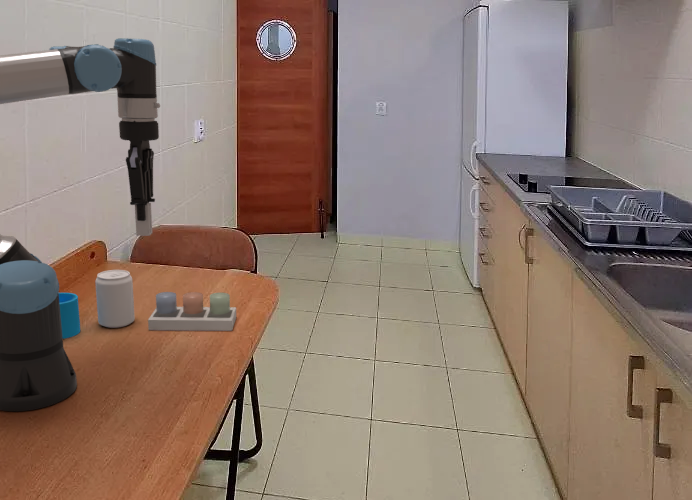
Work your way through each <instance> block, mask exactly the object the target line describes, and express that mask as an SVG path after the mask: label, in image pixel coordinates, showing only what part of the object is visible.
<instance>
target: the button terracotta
mask: <svg viewBox="0 0 692 500" xmlns="http://www.w3.org/2000/svg"><path fill="white" fill-rule="evenodd" d="M182 307H183V312H184V313H187V314H198V313H201V312H203V307H204V294H203V293H202V292H197V291H191V292H186V293H184V294H182Z"/></svg>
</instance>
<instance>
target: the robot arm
mask: <svg viewBox="0 0 692 500" xmlns="http://www.w3.org/2000/svg"><path fill="white" fill-rule="evenodd" d="M114 89H115V90H116V91H117V115H118V118H119V119H121V120H120V121H119V122H118V129H119V131H118V132H119V138H120V139H121V140H123V141H129V149H128V150H127V156H126V158H125V163H126V167H127V174H128V184H129V192H130V199H131V200H130V202H129V205H131V206H134V214H135V215H134V216H135V217H134V218H135V235H136V237H138V236H141V237H143V236H144V237H145V236H147V237H148V236H149V237H150V236H151V235H152V234H153V219H152V218H153V217H152V203H155V201H156V198H153V197H154V155H155V152H154V150H153V148H151V145H150V141H157V140H158V139H160V138H159V137H160V136H159V135H160V133H159V132H160V131H159V130H160V129H159V122H158V121H157V120H155V119H157V118H158V116H159V115H158V109H159V108H160V107H161V104H160V103H159V102H157V101H158V95H157V63H156V53H155V46H154V43H153V42H152V41H151V40H149V39H144V38H129V37H127V38H116V39H114V42H113V47H112V48H109V47H106V46H104V45H101V44H99V43H96V44H86V45H83V46H70V45H64V46H51V47H50V48H49V49H46V50H45V49H44V50H38V51H28V52H19V53H10V54H2V55H0V105H5V104H11V103H19V102H24V101H25V102H26V101H32V100H39V99H46V98H53V97H60V96H66V95H74V94H75V95H77V94H83V93H89V92H90V93H92V92H96V93H100V92H101V93H102V92H107V91H109V90H114ZM59 291H60V283H59V280H58V276H57V272H56V270H55V269H54V267H52V266H51V265H49V264H48V263H45V262H43V261H42V260H41V259H40V258H39V257H37V256H36V255H34V254H33V253H31V252H29V251H28V250H27V248H26V247H25V246H23V245H22V243H21V242H20V241H19V240H18V239H17V238H16V237H15V236H10V235H2V234H0V411H3V412H25V411H27V412H28V411H35V410H37V409H38V410H39V409H43V408H46V407H51V406H53V405H55V404H58V403H60V402H62V401H64V400H66V399H68V397H70V396H72V394H73V393H75V391H76V390H77V386H78V383H77V374H76V371H75V369H74V367H73V365H72V362H71V361H70V359H69V356H68V354H67V353H66V352H67V351H66V350H65V348H64V339H63V338H62V326H61V315H60V304H59V293H60V292H59Z"/></svg>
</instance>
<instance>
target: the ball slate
mask: <svg viewBox="0 0 692 500" xmlns="http://www.w3.org/2000/svg"><path fill="white" fill-rule="evenodd" d="M177 301H178V300H177V294H176V292H173V291H163V292H158V293H157V294H155V305H156V307H155V309H157V312H158V313H161V314H169V313H173V312H176V311H177V307H178V306H177V305H178V303H177Z"/></svg>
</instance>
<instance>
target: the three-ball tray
mask: <svg viewBox="0 0 692 500" xmlns="http://www.w3.org/2000/svg"><path fill="white" fill-rule="evenodd" d="M236 319H237V307H235V306H234V307H231V306H230V311H229V312H228V313H226V314H213V313H211V312H210V306H203V312H201V313H198V314H187V313H184V312H183V306H177V311H176V312H173V313H169V314H161V313H158V312H157V309H156V308H155V309H154V310H153V312H152V313H151V315H150V316H149V317H148V320H147V324H148V325H147V327H148V328H147V329H148V331H195V332H196V331H197V332H198V331H201V332H203V331H206V332H207V331H208V332H211V331H213V332H215V331H216V332H217V331H218V332H219V331H220V332H223V331H224V332H225V331H227V332H233V328H234V326H235V323H236Z"/></svg>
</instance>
